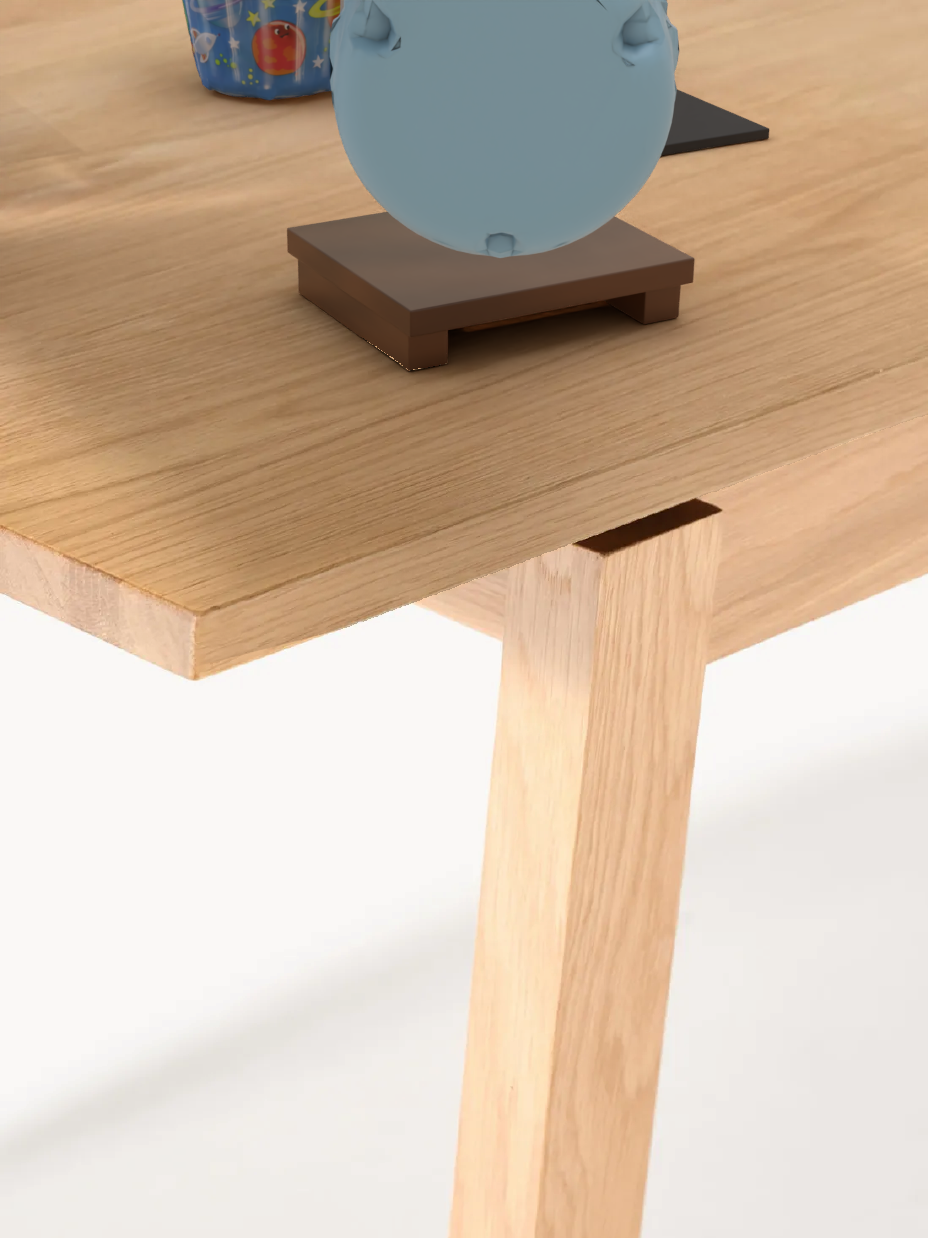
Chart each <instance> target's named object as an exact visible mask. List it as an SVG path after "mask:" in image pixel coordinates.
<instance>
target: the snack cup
mask: <svg viewBox="0 0 928 1238" xmlns="http://www.w3.org/2000/svg"><path fill="white" fill-rule="evenodd" d="M181 1H182V2H181V3H182V7H183V12H184V18H185V23H186V26H187V27H186V28H187V32H188V36H189V39H190V40H189V41H190V44H191V52H192V57H193V59H194V62H195V63H194V64H195V67H196V70H197V74H198V76H199V78H200V80H201V84H202V86H203V87H204V88H206V89H207V90H208V91H215V92H218V93H220V94H222V95H226V96H230V97H232V98H233V97H234V98H250V99H261V100H265V101H272V100H284V99H290V98H292V99H293V98H294V99H295V98H301V97H309V96H314V95H317V94H320V93H325V92H327V93H328V92H331V84H330V34H331V27H332V23H333V20H334V19H335V18H337V17H338V16H339V14H340V0H181Z"/></svg>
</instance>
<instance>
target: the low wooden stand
mask: <svg viewBox="0 0 928 1238" xmlns="http://www.w3.org/2000/svg"><path fill="white" fill-rule="evenodd" d="M286 244H287V245H286V246H287V247H286V249H287V253H288V254H289V255H290V256H292V257H294V258H295V259H297V279H298V280H297V283H298V284H297V285H298V287H297V289H298V294H299V295H301V296H303V297H304V298H305V299H306V300H308V301H310V302H311V303H312V304H314V305H315V306H317V308H319V309H321V310H322V311H324V312H325V313H326V314H328V315H329V316H330V317H332V318H333V319H334V320H336V321H337V322H339V323H340V324H342V326H344V327H346V328H347V329H348V330H350V331H351V332H352V333H354V334H356V335H357V336H358V337H359V338H361V337H362V338H361V339H363V338H364V339H365V340H367V341H368V342H370V343H371V344H373V345H374V346H377V348H379V349H380V350H382V351H383V352H385V353H386V354H388V356H391V357H393V358H394V360H396V361H398V363H401V365H403V367H404V368H407V369H408V370H413V369H418V368H425V369H429V368H428V367H430V368H434V367H433V366H435V367H439V365H440V364H441V365H440V366H444V364H445V363H447V364H448V360H449V359H448V357H449V355H448V354H449V353H448V352H449V331H451V330H457V329H463V328H467V327H472V326H477V325H483V324H488V323H492V322H498V321H503V320H508V319H514V318H519V317H524V316H529V315H535V314H539V313H545V312H549V311H555V310H560V309H566V308H571V307H575V306H581V305H586V304H591V303H596V302H601V301H602V302H605V303H607V304H608V305H609V306H611V307H613V308H615V309H617V310H618V311H620V312H622V313H624V314H625V315H627V316H628V317H630V318H632V319H634V320H635V321H637V322H638V323H640V324H643V325H647V324H652V323H657V322H663V321H668V320H673V319H677V318H679V316H680V315H679V314H680V304H681V303H680V301H681V286H683V285H684V286H685V285H689V284H693V283H694V274H695V261H696V259H695V257H693V256H691V255H690V254H688V253H686V252H684V251H682V250H680V249H678V248H676V247H674V246H672V245H671V244H669V243H667V242H664V241H663V240H661V239H659V238H657V237H655V236H653V235H651V234H649V233H648V232H645V231H644V230H642V229H640V228H639V227H636V226H635V225H633V224H630V223H628V222H626V221H625V220H622V219H620V218H619V217H617V216H616V215H615V216H614V217H613V218H612V219H611V220H609V221H608V222H607V223H605V224H604V225H603V226H601V227H600V228H598V229H597V230H595V231H594V232H592V233H590V234H589V235H587V236H585V237H583V238H581V239H579V240H577V241H574V242H572V243H570V244H568V245H565V246H562V247H559V248H556V249H554V250H550V251H546V252H542V253H536V254H530V255H520V256H509V257H504V258H497V257H493V256H486V255H476V254H470V253H465V252H461V251H456V250H453V249H450V248H447V247H444V246H442V245H439V244H437V243H435V242H432V241H430V240H428V239H426V238H424V237H422V236H420V235H418V234H416V233H415V232H413V231H412V230H410V229H408V228H407V227H406V226H404V225H403V224H402V223H400V222H399V221H398V220H396V219H395V218H394V217H392V216H391V215H390V214H389V213H388V212H387V211H383V212H376V213H370V214H364V215H357V216H352V217H346V218H340V219H334V220H328V221H322V222H321V221H320V222H315V223H310V224H303V225H297V226H291V227H287V228H286ZM364 339H363V340H364ZM365 340H364V341H365ZM367 341H366V342H367ZM368 342H367V343H368ZM370 343H369V344H370ZM371 344H370V345H371ZM374 346H373V347H374ZM388 356H387V357H388ZM445 365H446V364H445ZM403 367H402V368H403ZM404 368H403V369H404Z"/></svg>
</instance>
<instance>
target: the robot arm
mask: <svg viewBox="0 0 928 1238" xmlns="http://www.w3.org/2000/svg"><path fill="white" fill-rule="evenodd" d="M668 6H669V3H668V0H340V14H339V16H338V17H337V18H335V19H334V20H333V23H332V27H331V34H330V84H331V91H330V93H331V102H332V107H333V111H334V116H335V117H334V118H335V122H336V125H337V130H338V134H339V138H340V140H341V143H342V147H343V149H344V152H345V154H346V157H347V160H348V161H349V164H350V165H351V167H352V169H353V171H354V173H355V174H356V176H357V178H358V179H359V181H360V183H361V184H362V185H363V187H364V188H365V190H366V191H367V192H368V193H369V194H370V195H371V197H372V198H373V199H374V200H375V201H376V202H377V203H378V204H379V205H380V206H381V208H383V209H384V210H385V212H388V213H389V214H390V215H391V216H392V217H394V218H395V219H396V220H398V221H399V222H400V223H402V224H403V225H404V226H406V227H407V228H408V229H410V230H412V231H413V232H415V233H416V234H418V235H420V236H422V237H424V238H426V239H428V240H430V241H432V242H435V243H437V244H439V245H442V246H444V247H447V248H450V249H453V250H456V251H461V252H465V253H470V254H476V255H486V256H493V257H497V258H504V257H509V256H520V255H530V254H536V253H542V252H546V251H550V250H554V249H556V248H559V247H562V246H565V245H568V244H570V243H572V242H574V241H577V240H579V239H581V238H583V237H585V236H587V235H589V234H590V233H592V232H594V231H595V230H597V229H598V228H600V227H601V226H603V225H604V224H605V223H607V222H608V221H609V220H611V219H612V218H613V217H614V216H615V217H616V216H617V214H619V213H620V212H621V211H622V210H623V209H624V208H625V207H626V206H627V205H629V203H630V202H631V201H632V200H634V198H635V197H637V195H638V194H639V193H640V191H641V190H642V188H643V187H644V186H645V184H646V183H647V182H648V180H649V179H650V177H651V175H652V173H653V172H654V170H655V168H656V166H657V165H658V163H659V161H660V159H661V154H662V151H663V149H664V146H665V144H666V141H667V138H668V134H669V131H670V127H671V123H672V118H673V111H674V102H675V98H676V92H677V89H678V88H677V83H676V77H675V74H676V73H675V72H676V69H677V66H678V62H679V56H680V42H679V32H678V28H677V27H676V25H674V24H673V23H672V22H671V20H670V18H669V16H668Z"/></svg>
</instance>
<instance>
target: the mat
mask: <svg viewBox="0 0 928 1238" xmlns="http://www.w3.org/2000/svg"><path fill="white" fill-rule="evenodd" d="M769 137H770V128H769V127H767V126H765V125H762V124H761V123H760V124H759V123H757V122H755V121H752V120H750V119H748V118H745V117H743V116H741V115H739V114H736V113H734V112H732V111H729V110H727V109H726V108H725V109H724V108H723V107H719V106H718V105H715V104H713V103H710V102H708V101H705V100H703V99H701V98H700V97H699V98H698V97H697V96H694V95H692V94H689V93H687V92H684V91H682V90H681V89H678V88H677V92H676V98H675V102H674V111H673V118H672V123H671V127H670V131H669V134H668V138H667V141H666V144H665V146H664V149H663V151H662V154H661V156H667V155H673V154H681V153H686V152H692V151H699V150H705V149H712V148H717V147H723V146H730V145H735V144H741V143H748V142H749V143H750V142H754V141H761V140H765V139H766V140H767V139H769ZM661 156H660V157H661Z"/></svg>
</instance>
